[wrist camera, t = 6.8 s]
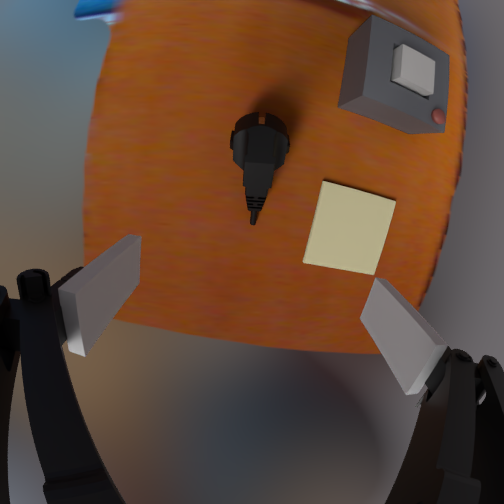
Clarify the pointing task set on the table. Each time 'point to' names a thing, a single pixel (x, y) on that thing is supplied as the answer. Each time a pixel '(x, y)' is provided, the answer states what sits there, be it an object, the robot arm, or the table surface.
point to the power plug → (258, 155)
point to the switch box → (385, 92)
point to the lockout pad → (348, 229)
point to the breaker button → (413, 71)
